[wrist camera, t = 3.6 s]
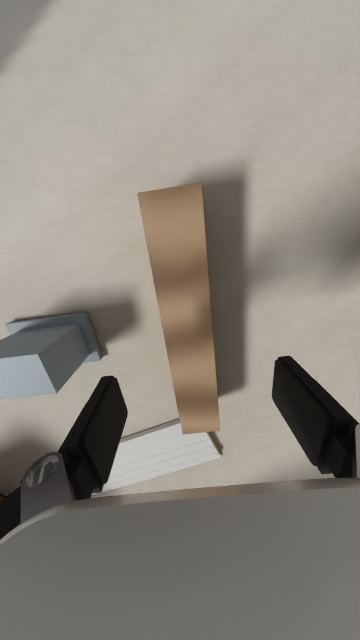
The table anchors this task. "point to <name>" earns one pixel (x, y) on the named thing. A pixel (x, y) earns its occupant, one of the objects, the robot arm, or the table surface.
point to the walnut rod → (184, 299)
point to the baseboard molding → (158, 454)
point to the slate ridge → (45, 353)
